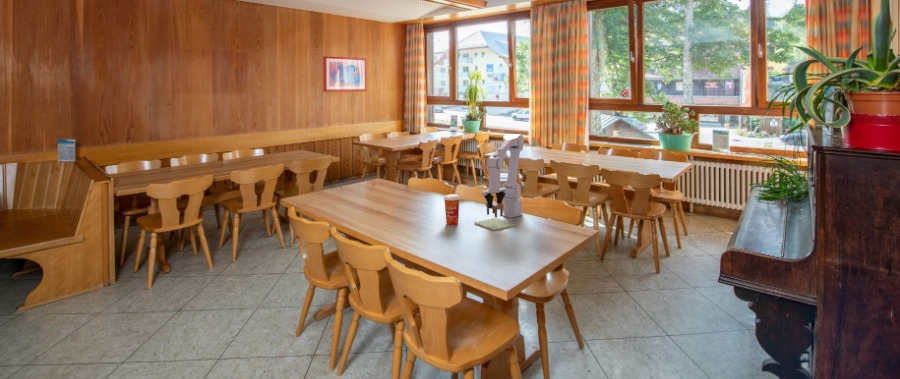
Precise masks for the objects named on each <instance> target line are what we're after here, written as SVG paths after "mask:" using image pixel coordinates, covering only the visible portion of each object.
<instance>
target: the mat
mask: <svg viewBox="0 0 900 379" xmlns="http://www.w3.org/2000/svg"><path fill="white" fill-rule="evenodd" d="M474 225H475V226H480V227H482V228H484V229H486V230H489V231H493V232H497V231H500V230H505V229H509V228H514V227H516V225H517V224H515V223H513V222H512V223H511V222H509V221H506V220H503V219H500V218H498V217H494V218H490V219H484V220H480V221H476V222H474Z"/></svg>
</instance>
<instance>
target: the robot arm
mask: <svg viewBox="0 0 900 379" xmlns="http://www.w3.org/2000/svg"><path fill="white" fill-rule="evenodd" d="M524 142H525V139H524V136H523V134H509V133H505V134H504V135H503V138H502V144H501V146H500V147H499V148H497V149H495V151H494V153H493V154H492V155H491V156H490V157H488V158H487V160H486V168H487V173H488V189H485V190H482V191H481V196H483V197H484V199H485V200H486V203H488V207H489V209H491V210H492V202H493V201H494V195H493V194H495V197H496V202H497V203H501V204H504V208H503V216H502V217H505V218H509V219H511V218H515V217H519V216H523V213H522V212H523V211H522V209H523V207H522V206H523V204H522V203H523V202H522V200H521V199H520V198H521V196H522V194H521V193H522V191H521V185H520V184H519V183H518V182H517V178H518V170H519V169H518V168H519V162H520V153H521V152H522V151H523V150H524V144H525V143H524ZM507 152H510V155H509V161H508V162H509V164H508V171H507V179H506V181H505V182H504V183H503V184H502V185H501V169H502V167H503V163H504V160H505V159H506V157H507V155H508V154H507Z"/></svg>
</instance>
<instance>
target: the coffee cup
mask: <svg viewBox="0 0 900 379" xmlns="http://www.w3.org/2000/svg"><path fill="white" fill-rule="evenodd" d="M460 199H461V198H460V196H459V195H458V194H454V193H453V194H452V193H451V194H446V195H444V197H443V200H444V211H445V212H444V213H445V220H446V225H447V226H450V225H454V226H458V225H459V217H460V216H459V214H460V213H459V212H460V210H459V209H460Z"/></svg>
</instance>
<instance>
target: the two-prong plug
mask: <svg viewBox="0 0 900 379" xmlns="http://www.w3.org/2000/svg"><path fill="white" fill-rule="evenodd" d="M485 207H486V215H490V208H489V207H488V203H487V202H485ZM491 210H492V214H494V218H498V210H500V213H499V215H500V216H499V217H504V216H503V213H504V203H497V201H494V200H493V202H492V209H491Z"/></svg>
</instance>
